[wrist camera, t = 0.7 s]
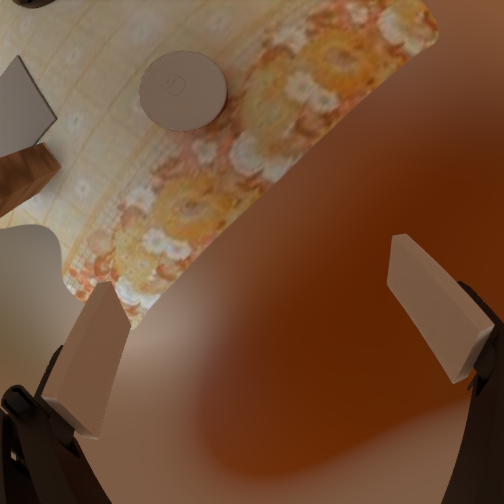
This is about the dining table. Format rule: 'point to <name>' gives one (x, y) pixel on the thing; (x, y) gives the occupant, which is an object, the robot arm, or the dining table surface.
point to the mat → (21, 110)
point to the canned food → (183, 91)
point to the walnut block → (25, 175)
